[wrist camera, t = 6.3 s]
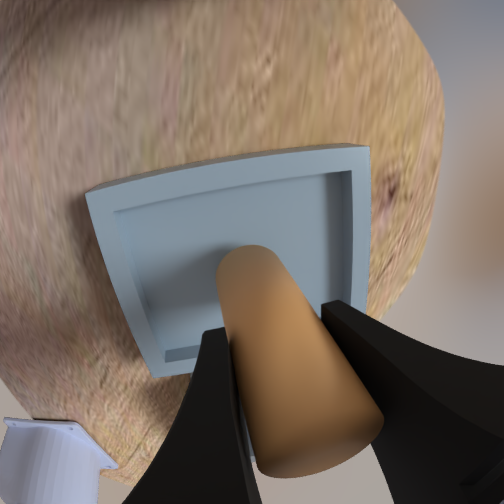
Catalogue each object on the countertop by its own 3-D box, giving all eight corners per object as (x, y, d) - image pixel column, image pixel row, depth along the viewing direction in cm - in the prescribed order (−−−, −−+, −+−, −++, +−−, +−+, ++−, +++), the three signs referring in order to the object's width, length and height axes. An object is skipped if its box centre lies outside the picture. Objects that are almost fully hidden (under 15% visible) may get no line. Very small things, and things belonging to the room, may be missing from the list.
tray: (154, 354, 16) (153, 378, 14) (98, 184, 12) (84, 193, 10) (348, 310, 18) (363, 329, 16) (347, 143, 13) (369, 146, 12)
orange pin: (222, 311, 13) (264, 487, 6) (209, 252, 12) (248, 437, 4) (285, 298, 14) (371, 452, 6) (280, 238, 13) (396, 388, 5)
